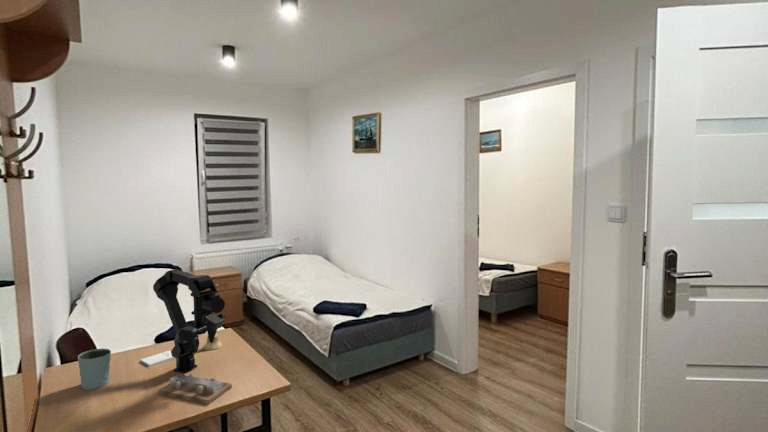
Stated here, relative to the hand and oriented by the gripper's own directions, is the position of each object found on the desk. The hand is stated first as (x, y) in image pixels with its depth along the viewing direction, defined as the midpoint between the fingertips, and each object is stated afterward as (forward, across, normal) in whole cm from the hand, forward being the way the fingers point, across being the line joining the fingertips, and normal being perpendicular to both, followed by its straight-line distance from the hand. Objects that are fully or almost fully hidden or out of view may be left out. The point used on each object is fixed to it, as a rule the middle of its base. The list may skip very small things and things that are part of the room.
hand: (203, 347), depth 162 cm
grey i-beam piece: (+10, -10, -5) cm, 15 cm away
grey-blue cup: (+12, -18, +34) cm, 40 cm away
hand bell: (+12, +25, +17) cm, 33 cm away
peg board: (+12, -10, -5) cm, 16 cm away
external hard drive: (+13, +7, +29) cm, 33 cm away
